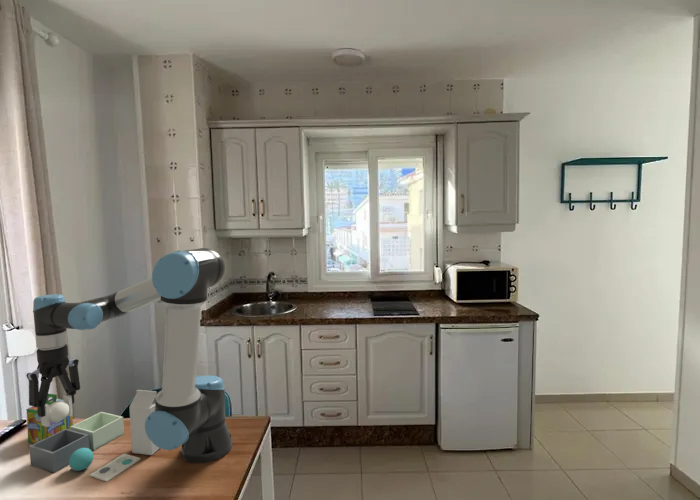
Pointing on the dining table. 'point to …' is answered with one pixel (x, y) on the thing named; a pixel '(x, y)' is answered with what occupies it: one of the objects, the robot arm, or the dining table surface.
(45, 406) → the robot arm
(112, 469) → the card
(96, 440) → the pale green tray
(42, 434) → the chalk box
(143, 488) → the dining table surface
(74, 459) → the ball teal
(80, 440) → the grey storage bin
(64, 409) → the ball white
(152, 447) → the milk carton
